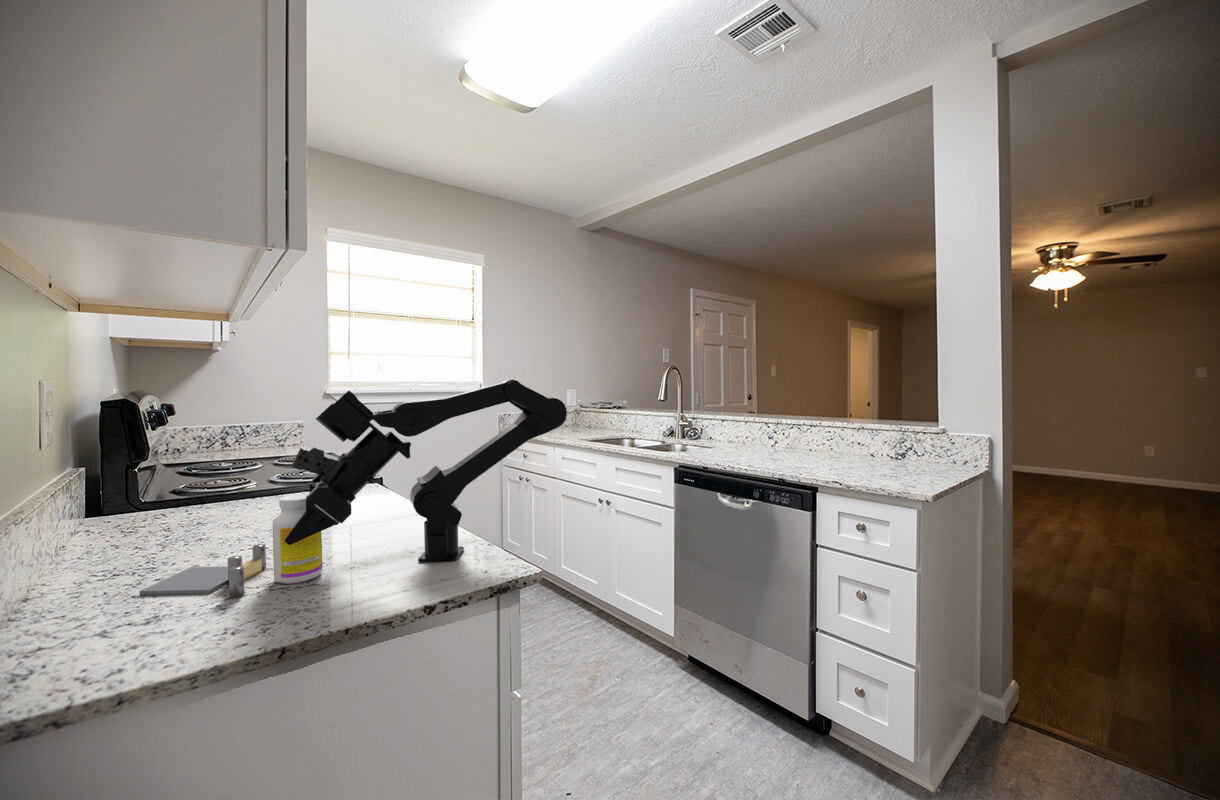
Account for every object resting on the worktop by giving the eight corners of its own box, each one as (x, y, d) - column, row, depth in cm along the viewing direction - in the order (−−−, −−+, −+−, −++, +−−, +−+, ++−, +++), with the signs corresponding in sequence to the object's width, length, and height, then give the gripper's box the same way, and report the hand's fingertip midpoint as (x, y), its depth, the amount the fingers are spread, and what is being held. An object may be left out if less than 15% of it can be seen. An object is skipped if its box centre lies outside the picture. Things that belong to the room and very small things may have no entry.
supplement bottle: (331, 574, 84) (329, 495, 84) (287, 588, 79) (285, 503, 78) (308, 567, 88) (306, 491, 87) (265, 579, 82) (263, 498, 82)
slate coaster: (191, 570, 86) (191, 567, 86) (253, 569, 87) (253, 565, 87) (139, 595, 76) (139, 591, 76) (210, 593, 77) (210, 589, 77)
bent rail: (257, 567, 88) (256, 543, 88) (289, 566, 88) (289, 543, 88) (201, 598, 75) (200, 571, 75) (239, 597, 75) (238, 570, 75)
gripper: (326, 424, 93) (253, 492, 88) (324, 432, 76) (233, 517, 71) (376, 465, 97) (308, 532, 92) (384, 481, 80) (301, 564, 75)
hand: (289, 535), depth 82 cm, fingers open, 9 cm apart
